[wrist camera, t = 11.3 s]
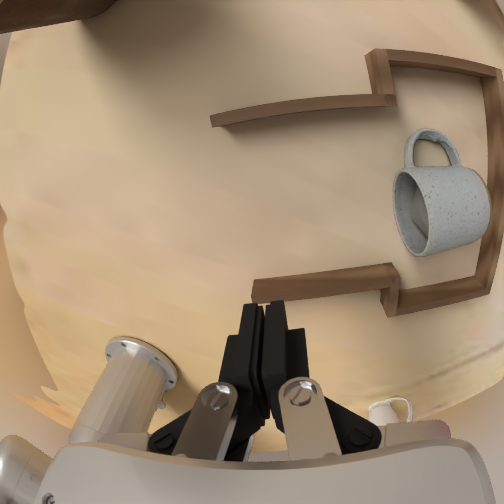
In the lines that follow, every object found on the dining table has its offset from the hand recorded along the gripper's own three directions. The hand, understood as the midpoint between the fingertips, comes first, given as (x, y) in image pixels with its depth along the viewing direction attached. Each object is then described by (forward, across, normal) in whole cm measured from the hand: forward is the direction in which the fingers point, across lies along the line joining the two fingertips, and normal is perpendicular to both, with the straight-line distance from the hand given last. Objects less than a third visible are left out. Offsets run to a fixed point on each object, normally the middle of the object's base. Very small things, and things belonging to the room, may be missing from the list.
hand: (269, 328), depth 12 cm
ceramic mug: (+16, -16, -2) cm, 22 cm away
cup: (+17, -15, +36) cm, 42 cm away
